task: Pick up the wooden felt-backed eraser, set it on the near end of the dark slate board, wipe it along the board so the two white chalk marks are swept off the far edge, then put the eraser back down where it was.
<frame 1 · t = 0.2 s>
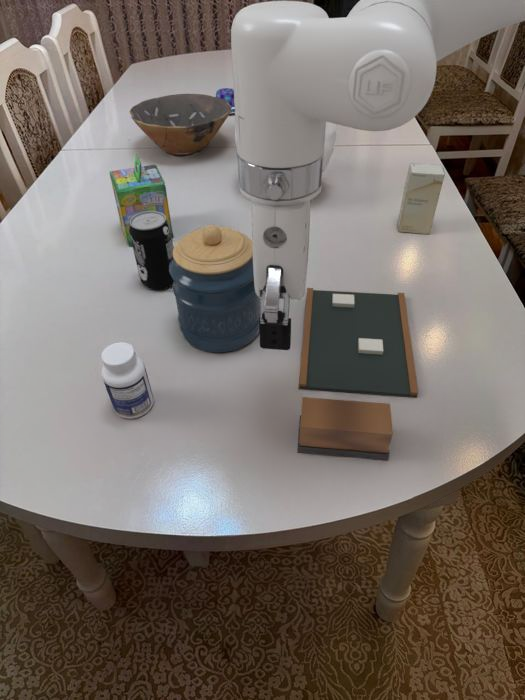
hand: (279, 318, 56), 15 cm above the table, tool pointing down, fingers open, 9 cm apart
eraser: (342, 439, 62), on the table
chalk box: (147, 232, 100), on the table
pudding: (227, 110, 151), on the table
chalk mark A: (370, 348, 73), point 1 cm above the table, touching board
bowl: (185, 148, 130), on the table
board: (355, 339, 76), on the table
beverage can: (160, 281, 88), on the table
canister: (221, 327, 79), on the table
chalk mark B: (343, 302, 81), point 1 cm above the table, touching board
cosmetic box: (413, 228, 99), on the table
pill bottle: (134, 405, 67), on the table
vase: (284, 191, 112), on the table
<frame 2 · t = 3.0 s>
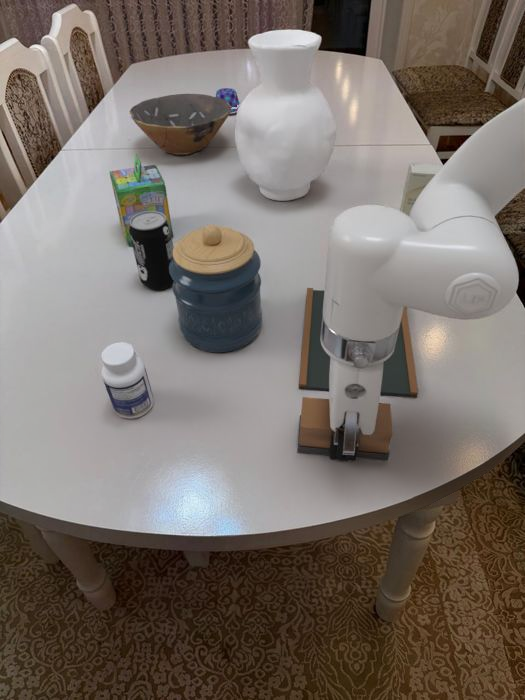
hand: (342, 437, 62), 0 cm above the table, tool pointing down, fingers closed on eraser, 5 cm apart
eraser: (342, 439, 62), on the table, touching gripper
everything else where it was.
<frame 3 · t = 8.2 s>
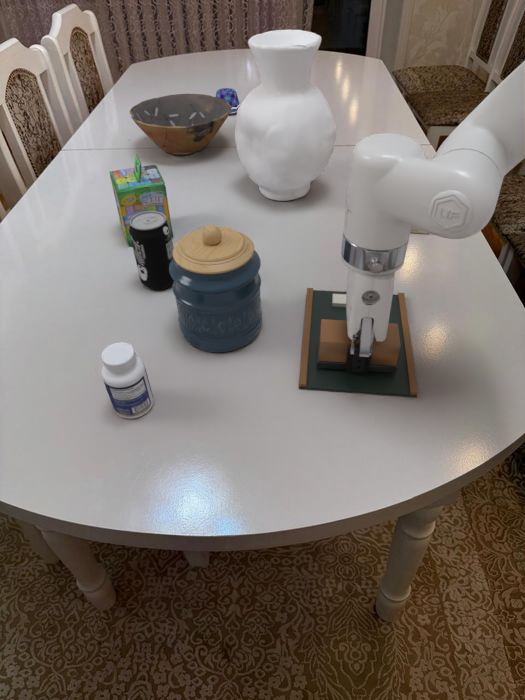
hand: (356, 355, 71), 2 cm above the table, tool pointing down, fingers closed on eraser, 5 cm apart
eraser: (355, 358, 71), point 1 cm above the table, touching chalk mark A, gripper
chalk mark A: (368, 343, 74), point 1 cm above the table, touching eraser, gripper
everything else where it was.
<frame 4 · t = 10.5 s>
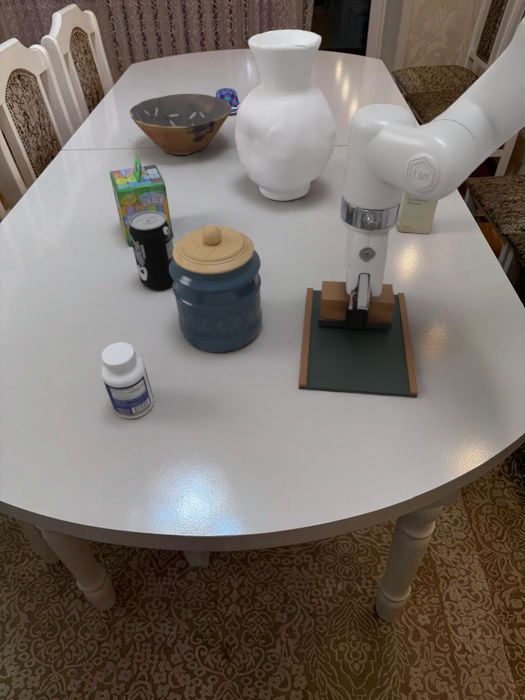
hand: (354, 314, 77), 2 cm above the table, tool pointing down, fingers closed on eraser, 5 cm apart
eraser: (353, 317, 78), point 1 cm above the table, touching chalk mark A, gripper
chalk mark A: (365, 305, 81), point 1 cm above the table, touching board, eraser, gripper
chalk mark B: (342, 301, 81), point 1 cm above the table, touching board, gripper
everything else where it was.
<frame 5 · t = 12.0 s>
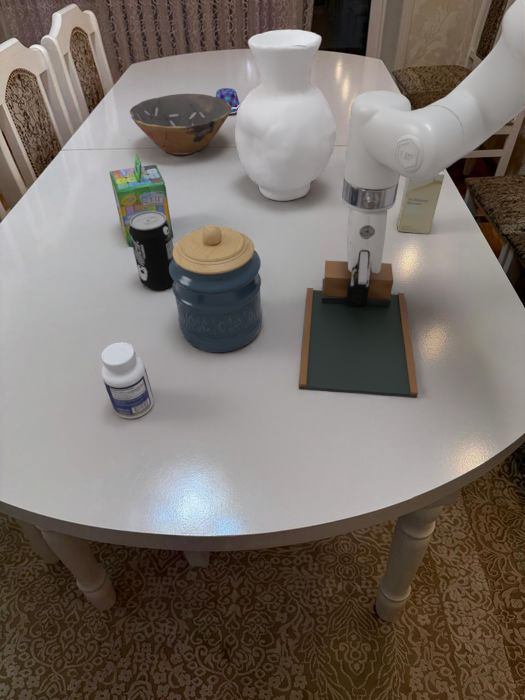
hand: (355, 293, 82), 1 cm above the table, tool pointing down, fingers closed on eraser, 5 cm apart
eraser: (355, 294, 82), point 1 cm above the table, touching chalk mark A, gripper
chalk mark A: (363, 289, 85), on the table, touching eraser
chalk mark B: (342, 289, 85), on the table
everything else where it was.
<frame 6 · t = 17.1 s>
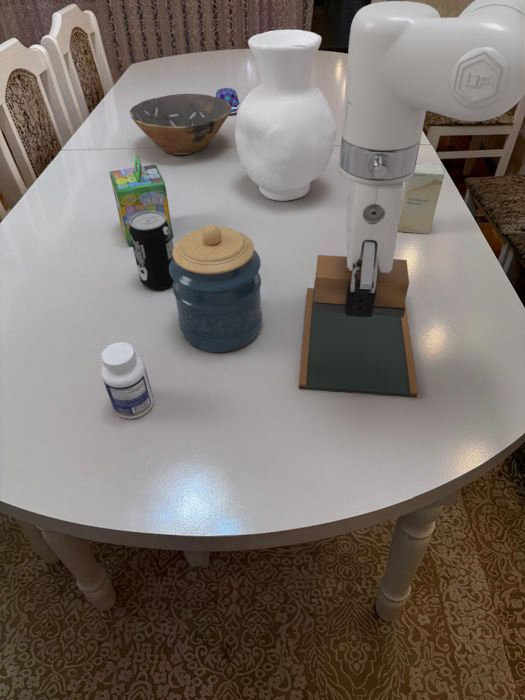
hand: (358, 299, 62), 13 cm above the table, tool pointing down, fingers closed on eraser, 5 cm apart
eraser: (357, 301, 62), point 13 cm above the table, touching gripper
chalk mark A: (363, 290, 85), on the table
everything else where it was.
when the fingers open (0 cm above the table, at t = 21.4 s): eraser stays where it is, on the table.
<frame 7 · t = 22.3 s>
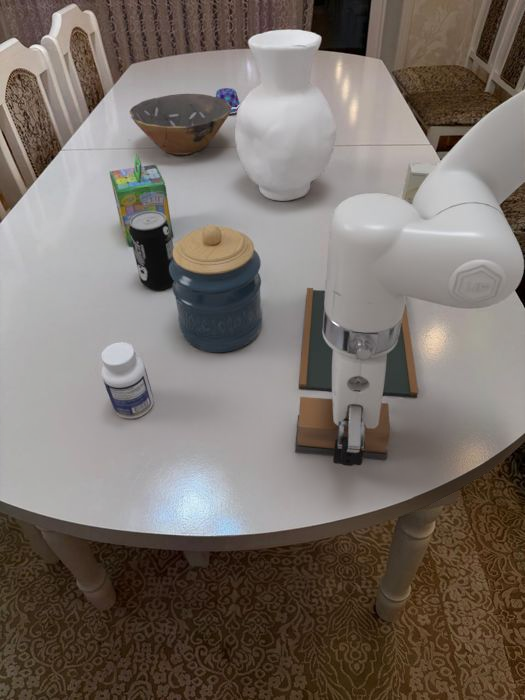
hand: (346, 428, 61), 2 cm above the table, tool pointing down, fingers open, 9 cm apart
eraser: (340, 439, 62), on the table
everything else where it was.
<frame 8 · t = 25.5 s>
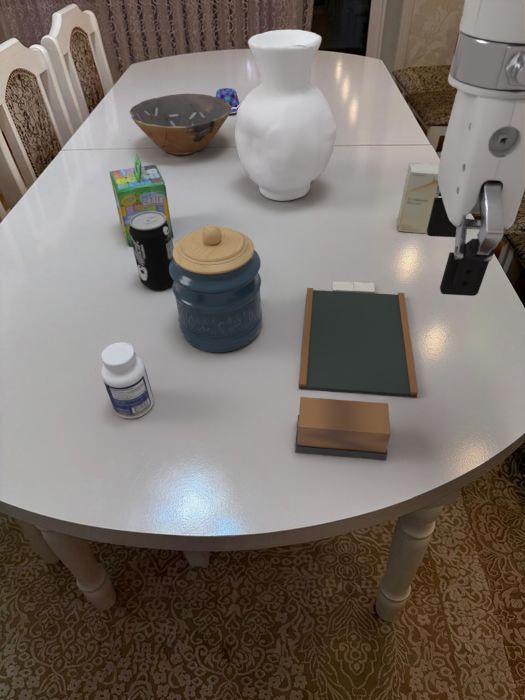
hand: (449, 262, 48), 24 cm above the table, tool pointing down, fingers open, 9 cm apart
nothing on the table moved.
at the end: chalk mark A on the table; chalk mark B on the table; eraser inside the target area (0.3 cm from its centre), on the table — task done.
